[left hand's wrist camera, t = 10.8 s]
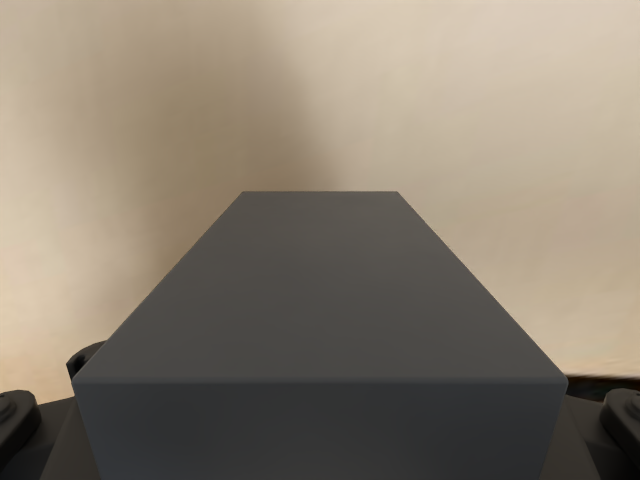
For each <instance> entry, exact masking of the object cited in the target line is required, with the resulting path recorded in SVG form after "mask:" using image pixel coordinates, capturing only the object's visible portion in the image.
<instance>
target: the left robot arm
mask: <svg viewBox="0 0 640 480" xmlns="http://www.w3.org/2000/svg"><path fill="white" fill-rule="evenodd" d="M106 341H107V340H106ZM106 341H102V342H98V343H95V344H92V345H90V346H88V347H86V348H84V349H82V350H80V351H79V352H77V353H76V354H75V355H73V356H72V357H71V358H70V360H69V361H68V362H67V363H66V366H67V369H68V372H69V375H70V379H71V382H72V379H73V377H74V376H75V375H76V374H77V373H78V372H79V371H80V369H81V368H82V367H83V366H84V365H85V364H86V363H87V362H88V361H89V360H90V358H91V357H92V356H93V355H94V354H95V353H96V352H97V351H98V350H99V349H100V348H101V346H102V345H103V344H104V343H105V342H106ZM0 480H101V478H100V475H99V471H98V468H97V465H96V462H95V458H94V455H93V452H92V449H91V445H90V442H89V439H88V436H87V432H86V429H85V426H84V423H83V419H82V416H81V413H80V410H79V406H78V403H77V400H76V397H75V396H74V397H70V398H67V399H62V400H58V401H53V402H49V403H45V404H40V405H37V402H36V399H35V396H34V395H33V394H32V393H31V392H29V391H25V390H14V391H8V392H4V393H1V394H0ZM539 480H640V392H639V391H635V390H629V389H624V388H622V389H612V390H611V391H610V392H608V393H607V394H606V397H605V400H604V403H603V404H602V403H598V402H594V401H589V400H585V399H580V398H576V397H572V396H568V395H565V396H564V400H563V403H562V406H561V409H560V413H559V416H558V419H557V422H556V426H555V429H554V432H553V435H552V439H551V442H550V445H549V449H548V452H547V455H546V458H545V462H544V465H543V468H542V471H541V475H540V478H539Z"/></svg>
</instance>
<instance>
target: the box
mask: <svg viewBox="0 0 640 480" xmlns="http://www.w3.org/2000/svg"><path fill="white" fill-rule="evenodd" d="M71 384H72V387H73V390H74V394H75V397H76V400H77V403H78V406H79V410H80V413H81V416H82V419H83V423H84V426H85V429H86V432H87V436H88V439H89V442H90V445H91V449H92V452H93V455H94V458H95V462H96V465H97V468H98V471H99V475H100V478H101V480H539V478H540V475H541V471H542V468H543V465H544V462H545V458H546V455H547V452H548V449H549V445H550V442H551V439H552V435H553V432H554V429H555V426H556V422H557V419H558V416H559V413H560V409H561V406H562V403H563V400H564V396H565V393H566V390H567V387H568V379H567V377H566V376H565V375H564V374H563V373H562V372H561V371H560V370H559V368H558V367H557V366H556V365H555V364H554V363H553V362H552V361H551V360H550V359H549V357H548V356H547V355H546V354H545V353H544V352H543V351H542V350H541V349H540V348H539V347H538V345H537V344H536V343H535V342H534V341H533V340H532V339H531V338H530V337H529V336H528V334H527V333H526V332H525V331H524V330H523V329H522V328H521V327H520V326H519V325H518V323H517V322H516V321H515V320H514V319H513V318H512V317H511V316H510V315H509V314H508V313H507V311H506V310H505V309H504V308H503V307H502V306H501V305H500V304H499V303H498V302H497V300H496V299H495V298H494V297H493V296H492V295H491V294H490V293H489V292H488V291H487V289H486V288H485V287H484V286H483V285H482V284H481V283H480V282H479V281H478V280H477V279H476V277H475V276H474V275H473V274H472V273H471V272H470V271H469V270H468V269H467V268H466V266H465V265H464V264H463V263H462V262H461V261H460V260H459V259H458V258H457V257H456V255H455V254H454V253H453V252H452V251H451V250H450V249H449V248H448V247H447V246H446V244H445V243H444V242H443V241H442V240H441V239H440V238H439V237H438V236H437V235H436V234H435V232H434V231H433V230H432V229H431V228H430V227H429V226H428V225H427V224H426V223H425V221H424V220H423V219H422V218H421V217H420V216H419V215H418V214H417V213H416V212H415V210H414V209H413V208H412V207H411V206H410V205H409V204H408V203H407V202H406V201H405V200H404V198H403V197H402V196H401V195H400V194H399V193H398V192H242V193H241V194H240V195H239V196H238V198H237V199H236V200H235V201H234V202H233V203H232V204H231V205H230V206H229V207H228V209H227V210H226V211H225V212H224V213H223V214H222V215H221V216H220V217H219V218H218V219H217V221H216V222H215V223H214V224H213V225H212V226H211V227H210V228H209V229H208V230H207V232H206V233H205V234H204V235H203V236H202V237H201V238H200V239H199V240H198V241H197V242H196V244H195V245H194V246H193V247H192V248H191V249H190V250H189V251H188V252H187V253H186V254H185V256H184V257H183V258H182V259H181V260H180V261H179V262H178V263H177V264H176V265H175V267H174V268H173V269H172V270H171V271H170V272H169V273H168V274H167V275H166V276H165V277H164V279H163V280H162V281H161V282H160V283H159V284H158V285H157V286H156V287H155V288H154V290H153V291H152V292H151V293H150V294H149V295H148V296H147V297H146V298H145V299H144V300H143V302H142V303H141V304H140V305H139V306H138V307H137V308H136V309H135V310H134V311H133V313H132V314H131V315H130V316H129V317H128V318H127V319H126V320H125V321H124V322H123V323H122V325H121V326H120V327H119V328H118V329H117V330H116V331H115V332H114V333H113V334H112V336H111V337H110V338H109V339H108V340H107V341H106V342H105V343H104V344H103V345H102V346H101V348H100V349H99V350H98V351H97V352H96V353H95V354H94V355H93V356H92V357H91V358H90V360H89V361H88V362H87V363H86V364H85V365H84V366H83V367H82V368H81V369H80V371H79V372H78V373H77V374H76V375H75V376H74V377H73V379H72V383H71Z"/></svg>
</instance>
